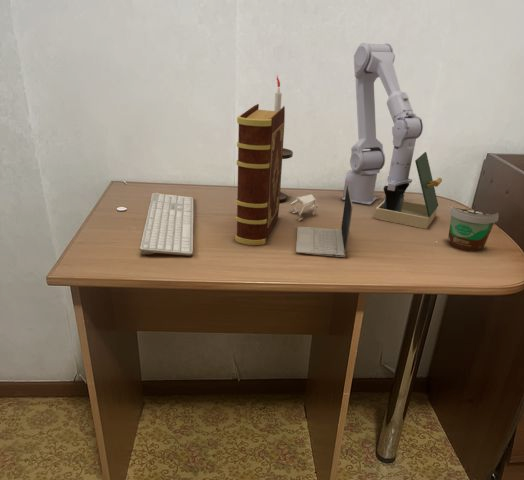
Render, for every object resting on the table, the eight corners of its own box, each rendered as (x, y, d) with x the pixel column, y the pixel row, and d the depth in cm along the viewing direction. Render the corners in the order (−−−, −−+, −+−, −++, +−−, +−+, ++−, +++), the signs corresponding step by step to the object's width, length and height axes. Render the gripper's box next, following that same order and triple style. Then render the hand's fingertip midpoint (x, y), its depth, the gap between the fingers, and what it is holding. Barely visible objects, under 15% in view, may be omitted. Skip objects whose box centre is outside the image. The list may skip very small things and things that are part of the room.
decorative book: (263, 247, 132) (269, 120, 116) (233, 243, 133) (235, 117, 117) (279, 218, 151) (286, 105, 134) (252, 215, 152) (256, 103, 135)
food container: (437, 246, 138) (446, 209, 132) (442, 239, 142) (451, 203, 137) (486, 256, 133) (497, 219, 128) (489, 249, 138) (500, 212, 132)
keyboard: (192, 257, 125) (192, 248, 123) (140, 257, 123) (139, 248, 122) (193, 199, 161) (193, 192, 160) (153, 199, 160) (152, 191, 158)
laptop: (297, 228, 144) (301, 181, 137) (342, 232, 144) (348, 184, 136) (295, 254, 129) (299, 202, 122) (345, 258, 129) (353, 206, 121)
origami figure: (289, 208, 158) (290, 192, 156) (316, 210, 158) (318, 194, 156) (289, 222, 148) (290, 205, 146) (318, 223, 148) (320, 206, 146)
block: (382, 213, 156) (385, 195, 153) (386, 209, 160) (389, 192, 157) (397, 216, 155) (400, 198, 152) (400, 212, 158) (404, 194, 155)
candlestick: (248, 196, 166) (252, 74, 147) (273, 191, 173) (280, 72, 153) (271, 205, 160) (278, 78, 140) (296, 199, 166) (306, 77, 147)
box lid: (415, 160, 141) (429, 156, 139) (424, 152, 150) (438, 148, 148) (428, 217, 147) (442, 214, 145) (436, 205, 156) (450, 202, 154)
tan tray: (374, 218, 154) (375, 208, 152) (385, 207, 163) (386, 197, 162) (426, 229, 149) (429, 218, 147) (434, 217, 158) (437, 206, 156)
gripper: (409, 170, 142) (399, 218, 150) (420, 159, 153) (411, 204, 161) (383, 166, 145) (375, 213, 152) (397, 156, 156) (389, 200, 163)
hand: (392, 208), depth 156 cm, fingers closed on block, 4 cm apart
